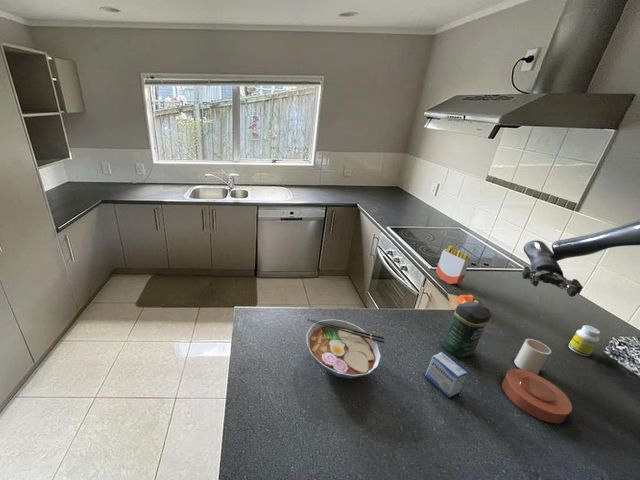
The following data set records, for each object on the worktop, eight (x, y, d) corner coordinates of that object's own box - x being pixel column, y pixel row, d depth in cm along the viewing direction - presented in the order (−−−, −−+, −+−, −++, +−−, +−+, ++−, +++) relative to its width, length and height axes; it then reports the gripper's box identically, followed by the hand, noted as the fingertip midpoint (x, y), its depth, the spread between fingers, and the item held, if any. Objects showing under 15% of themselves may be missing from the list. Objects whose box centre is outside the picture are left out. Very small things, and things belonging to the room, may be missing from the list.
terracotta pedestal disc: (560, 395, 83) (566, 385, 82) (571, 434, 73) (579, 424, 71) (500, 369, 91) (505, 360, 89) (503, 401, 81) (508, 391, 79)
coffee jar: (457, 361, 94) (476, 317, 86) (437, 343, 100) (453, 301, 93) (478, 354, 96) (498, 311, 89) (457, 338, 103) (474, 296, 96)
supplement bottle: (566, 342, 103) (578, 321, 100) (587, 349, 101) (600, 328, 97) (569, 351, 99) (583, 330, 96) (591, 359, 97) (606, 337, 93)
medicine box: (424, 376, 88) (432, 355, 84) (434, 371, 89) (442, 351, 86) (449, 398, 81) (458, 377, 78) (458, 393, 83) (468, 372, 79)
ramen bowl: (292, 375, 86) (295, 356, 83) (308, 326, 106) (310, 309, 102) (379, 407, 78) (386, 387, 74) (378, 348, 97) (383, 329, 94)
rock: (451, 308, 119) (454, 300, 117) (447, 293, 129) (449, 285, 127) (485, 317, 114) (489, 309, 113) (478, 301, 124) (481, 293, 123)
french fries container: (440, 273, 145) (451, 242, 138) (461, 285, 136) (473, 252, 129) (434, 275, 143) (444, 244, 136) (454, 287, 134) (467, 254, 127)
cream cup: (537, 365, 93) (549, 345, 90) (540, 378, 89) (553, 357, 85) (513, 355, 97) (524, 335, 93) (514, 367, 92) (526, 347, 88)
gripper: (524, 253, 106) (529, 271, 94) (578, 266, 98) (591, 287, 86) (516, 270, 109) (520, 289, 96) (568, 284, 101) (579, 307, 89)
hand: (554, 288), depth 91 cm, fingers open, 8 cm apart
